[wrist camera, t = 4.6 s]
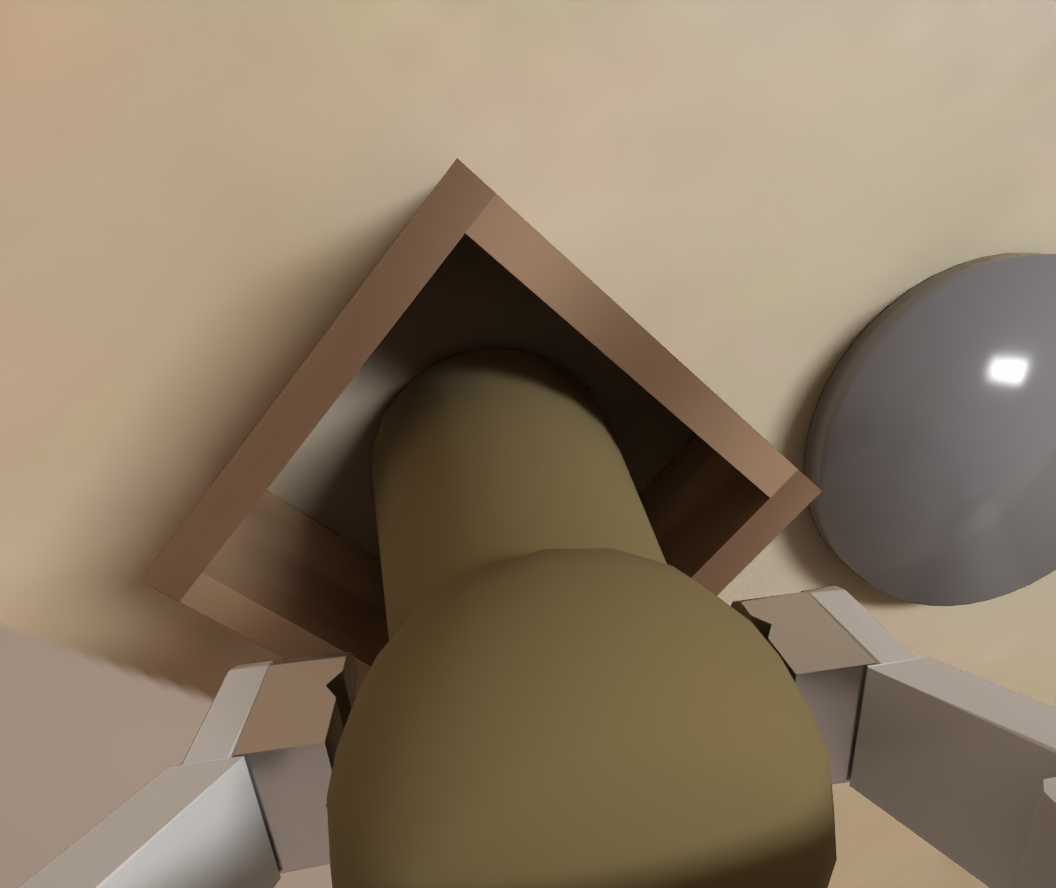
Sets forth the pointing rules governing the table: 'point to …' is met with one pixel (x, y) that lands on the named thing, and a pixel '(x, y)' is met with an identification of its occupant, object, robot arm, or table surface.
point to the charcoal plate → (945, 437)
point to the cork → (557, 670)
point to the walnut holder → (240, 490)
